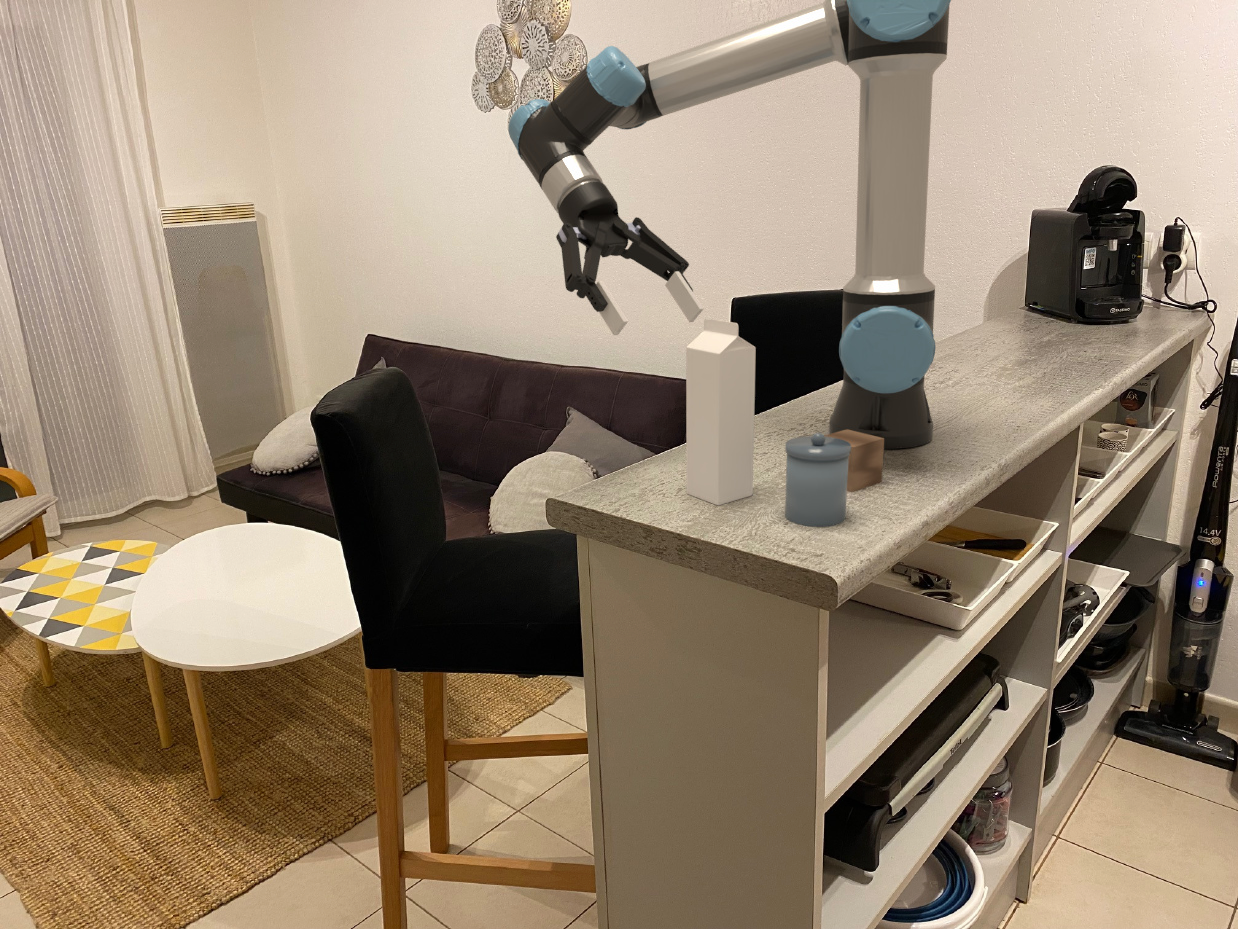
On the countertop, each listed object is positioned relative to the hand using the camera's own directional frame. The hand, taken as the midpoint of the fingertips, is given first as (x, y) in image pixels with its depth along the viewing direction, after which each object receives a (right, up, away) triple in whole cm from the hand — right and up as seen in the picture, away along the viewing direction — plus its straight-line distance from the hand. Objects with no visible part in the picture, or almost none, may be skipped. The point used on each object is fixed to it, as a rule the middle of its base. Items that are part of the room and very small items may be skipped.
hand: (660, 321), depth 122 cm
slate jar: (+18, -24, -10) cm, 32 cm away
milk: (+7, -22, -2) cm, 24 cm away
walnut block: (+25, -21, +2) cm, 32 cm away
